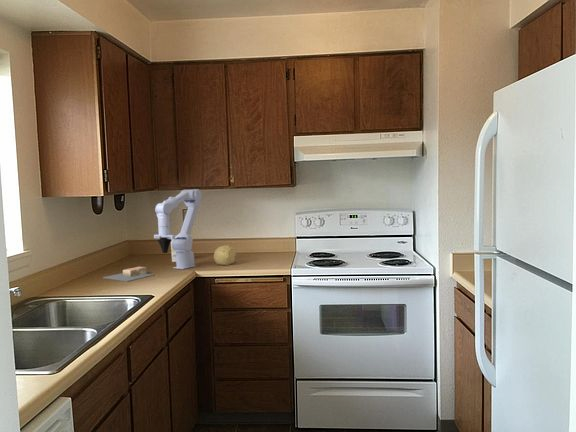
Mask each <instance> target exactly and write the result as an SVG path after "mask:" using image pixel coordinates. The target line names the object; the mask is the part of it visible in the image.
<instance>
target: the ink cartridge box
mask: <svg viewBox="0 0 576 432" xmlns="http://www.w3.org/2000/svg"><path fill="white" fill-rule="evenodd" d="M171 240H172V241H171V242H170V251H171V252H170V253H171V262H172V263H174V262H175V263H176V252H174V250H173V248H172V242H173V240H174V239H171Z"/></svg>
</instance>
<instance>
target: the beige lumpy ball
mask: <svg viewBox="0 0 576 432" xmlns="http://www.w3.org/2000/svg"><path fill="white" fill-rule="evenodd" d="M236 256H237V248H235V247H233V246H231V245H227V244H223V245H221V246H219V247H217V248H216V249H215V250H214V254H213V260H214V262H215V263H216V265H222V266H229V265H233V263H235V262H236V261H235V260H236Z"/></svg>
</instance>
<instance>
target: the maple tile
mask: <svg viewBox="0 0 576 432" xmlns="http://www.w3.org/2000/svg"><path fill="white" fill-rule="evenodd" d="M122 273H123V276H128V277H132V276H137V275H141V274H148V270H147V266H146V267H145V266H136V267H131V268H130V267H129V268H125V269H123V270H122Z"/></svg>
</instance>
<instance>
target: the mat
mask: <svg viewBox="0 0 576 432" xmlns="http://www.w3.org/2000/svg"><path fill="white" fill-rule="evenodd" d="M153 276H155V274H154V273H153V274H151V273H145V274H141V275H137V276H132V277H128V276H123V272H122V273H118V274H112V275H108V276H103V277H102V279H105V280H106V279H107V280H113V281H119V282H120V281H121V282H132V281H136V280H140V279H144V278H148V277H153Z"/></svg>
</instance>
